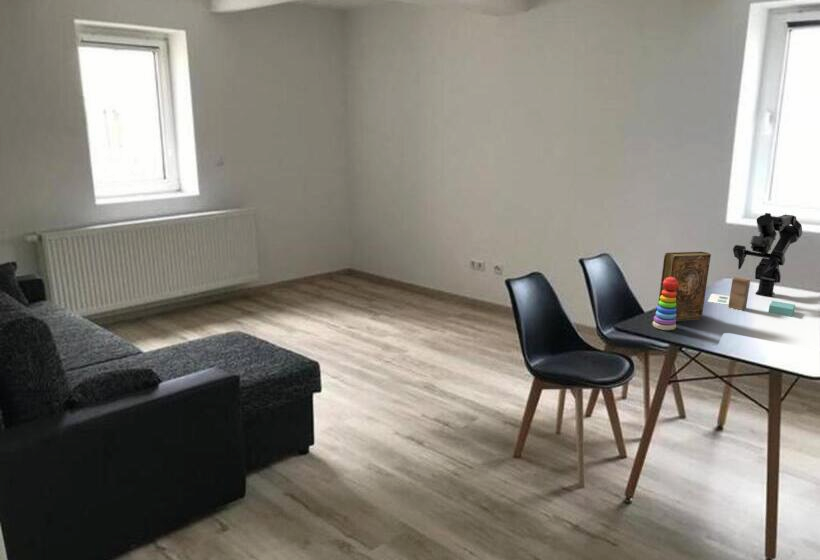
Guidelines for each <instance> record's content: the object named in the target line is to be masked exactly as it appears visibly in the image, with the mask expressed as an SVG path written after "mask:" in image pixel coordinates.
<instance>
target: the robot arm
mask: <svg viewBox="0 0 820 560" xmlns="http://www.w3.org/2000/svg"><path fill="white" fill-rule="evenodd" d="M756 225H757V229H758V232H759V236H758V235H752V237H751V240H750V242H749V244H751V246H750V248H751V249H746V246H745V245H740V244H736V245H734V246H733V248H732V252H733V255H734V257H735V258H736V259H737V260H738V263H737V264H738V267H737V268H738V270H741V268H742V267H743V265H744V262H745V261H746V257H747V256H752V257H756V258H760V259H761V260H760V261H759V263H758V265H757V266H756V267H755V271H754V272H755V273H754V275H755V276H754V277H755V278H754V279H755V280H758V281H759V282H758V289H757V291H756V292H755V295H759V296H764V297H765V296H766V297H774V295H775V292H774V288H775V284H777V283H778V284H779V283H780V282H781V280H782V279H781V278H782V275H781V271H780V266H784V264H785V262H786V257H785V254H786V252H787V250H788V249H789V247H790V246H791V244H794V243H797V241H798V240H799V239H800V238H801V237H802V234H803V227H802V223H800V222H799V221H798V220H797V216H796V215H792V214H791V215H790V214H783V215H779V216H774V215H773V216H772V215H771V213H770V212H769V213H768V212H765V213H764V214H762V215H760V216H759V217H757V218H756ZM777 232H778V233H777ZM777 234H778V235H779V236H778V241H777V242H776V244H775V245H774V248H773V249H772V246H773V243H774V242H775V240H776V237H777ZM770 251H771V252H770ZM769 252H770V253H769Z"/></svg>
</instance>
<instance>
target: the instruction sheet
mask: <svg viewBox="0 0 820 560" xmlns="http://www.w3.org/2000/svg"><path fill="white" fill-rule="evenodd" d="M729 299H730V295H724V294H717V293H711V294H710V296H709V298H708V300H707V303H712V302H713V304H719V303H720V304H719V305H725V304H727V305H726V306H728V305H729Z"/></svg>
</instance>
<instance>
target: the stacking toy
mask: <svg viewBox="0 0 820 560" xmlns="http://www.w3.org/2000/svg"><path fill="white" fill-rule="evenodd" d="M663 287H664V290H662V295H661V296H660V301H659V300H658V302H659V306H658V305H657V308H656V311H655V315H654V317H653V321H652V326H653V327H654V328H656V329H659V330H662V331H673V330H675V329H676V328H677V324H676V322H677V321H676V319H675V318H676V313H675V312H676V308H675V307H676V302H675V301H676V297H675V296H676V295H677V293H676V291H674V290H675V289H676V288H677V287H678V281H677V280H676V279H675V278H673V277H668V278H666V279H665V280H664V281H663ZM657 310H658V311H657Z"/></svg>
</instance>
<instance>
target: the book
mask: <svg viewBox="0 0 820 560" xmlns="http://www.w3.org/2000/svg"><path fill="white" fill-rule="evenodd" d="M711 257H712V254H711V253H710V252H706V251H705V252H704V251H680V252H665V253H664V256H663V263H662V264H663V265H662V271H661V279H660V288H659V297H658V303H657V307H658V306H659V301H660V296H661V295H662V290H664V287H663V281H664V280H665V279H666V278H668V277H673V278H675V279H676V280H677V281H678V287H677V288H676V289H675V290H674V291H676V293H677V295H676V296H675V297H676V301H675V302H676V307H675V308H676V312H675V313H676V318H675V319H676V322H678V321H679V322H680V321H697V320H703V311H704V304H705V297H706V291H707V283H708V276H709V270H710V262H711ZM656 311H658V310H657V309H656Z"/></svg>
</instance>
